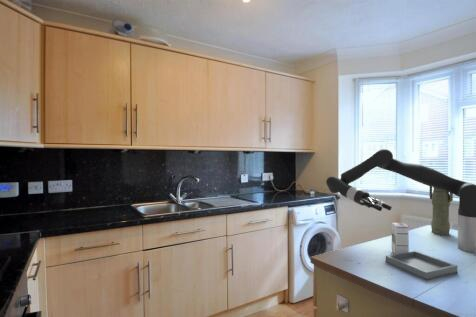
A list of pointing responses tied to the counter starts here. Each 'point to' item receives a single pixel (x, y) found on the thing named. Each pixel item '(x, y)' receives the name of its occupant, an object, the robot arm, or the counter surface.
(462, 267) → the counter surface
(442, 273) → the slate tray
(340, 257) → the counter surface
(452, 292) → the counter surface
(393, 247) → the syrup box
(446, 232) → the thermos
